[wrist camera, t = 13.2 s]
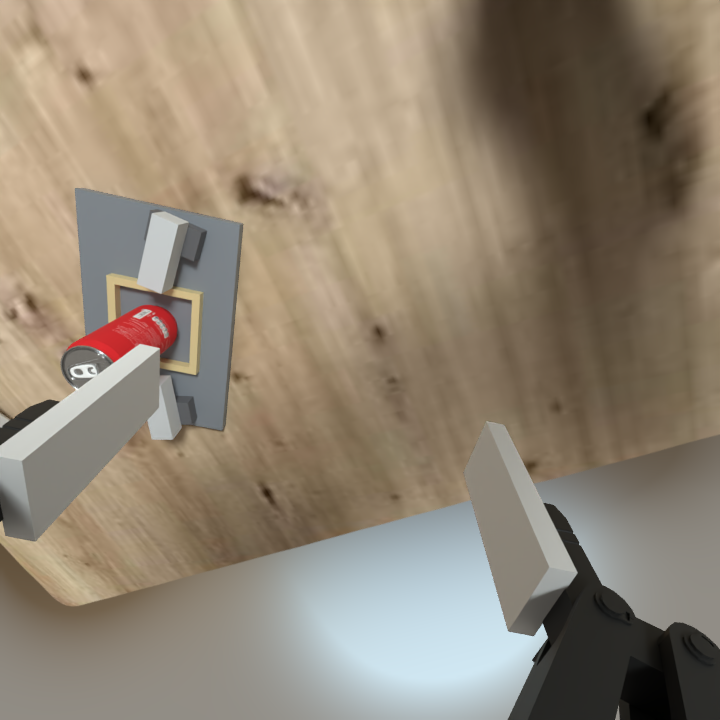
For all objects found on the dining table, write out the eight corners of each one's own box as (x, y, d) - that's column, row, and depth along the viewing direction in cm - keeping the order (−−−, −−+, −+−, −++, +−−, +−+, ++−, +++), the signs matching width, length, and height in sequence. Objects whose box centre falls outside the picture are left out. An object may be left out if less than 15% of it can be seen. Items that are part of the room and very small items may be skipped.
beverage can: (187, 344, 46) (129, 396, 35) (142, 348, 46) (71, 401, 35) (173, 299, 43) (107, 340, 32) (127, 304, 44) (46, 346, 33)
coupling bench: (82, 188, 40) (44, 189, 35) (243, 223, 41) (226, 229, 36) (96, 401, 50) (68, 424, 45) (225, 425, 51) (210, 450, 47)
